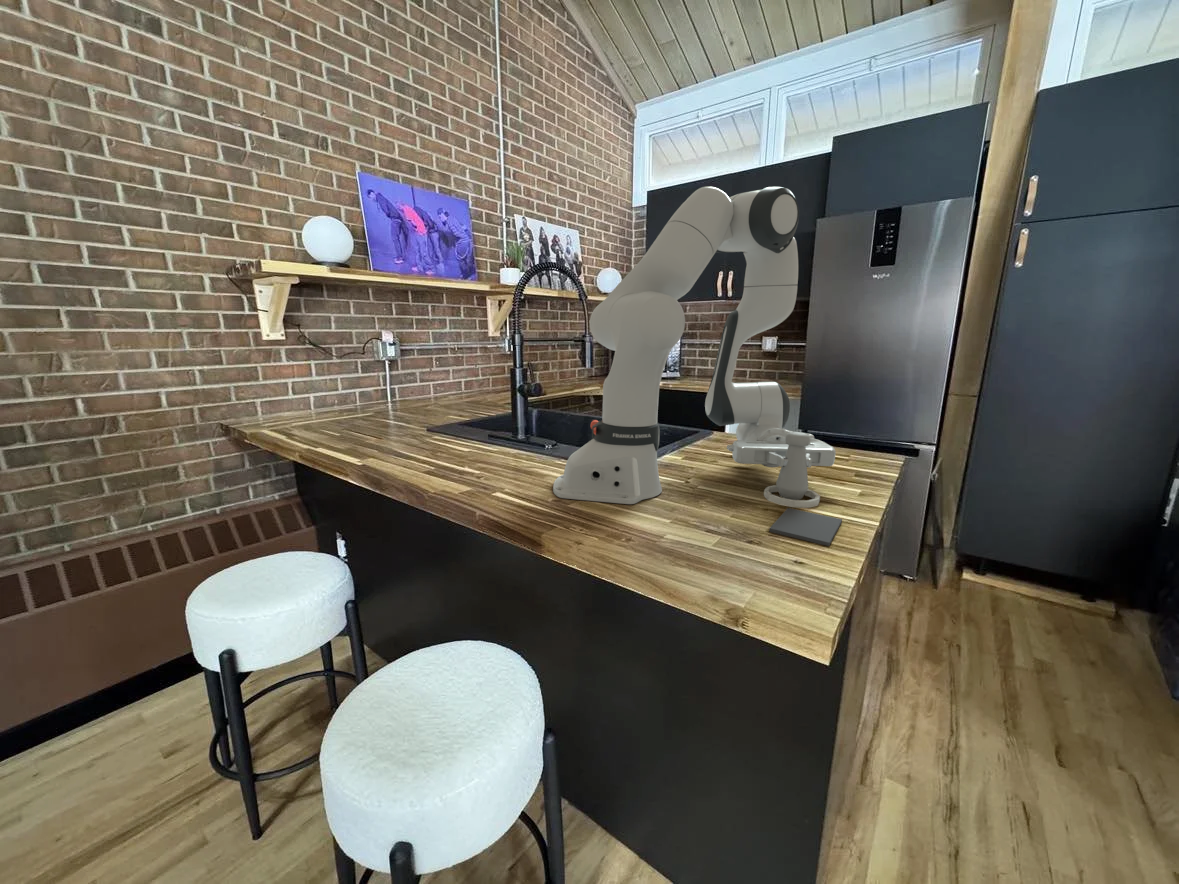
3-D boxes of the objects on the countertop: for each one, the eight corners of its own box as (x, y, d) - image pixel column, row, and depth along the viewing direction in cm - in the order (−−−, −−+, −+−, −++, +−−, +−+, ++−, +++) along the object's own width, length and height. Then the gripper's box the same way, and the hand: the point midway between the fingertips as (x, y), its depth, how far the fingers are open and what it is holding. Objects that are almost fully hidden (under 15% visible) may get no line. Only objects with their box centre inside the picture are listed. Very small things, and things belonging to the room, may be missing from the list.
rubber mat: (829, 546, 73) (829, 542, 73) (769, 531, 78) (769, 528, 78) (841, 522, 82) (842, 519, 82) (787, 510, 87) (788, 507, 87)
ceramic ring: (774, 506, 89) (775, 500, 89) (757, 489, 99) (758, 484, 99) (828, 508, 89) (829, 502, 89) (805, 491, 99) (806, 485, 98)
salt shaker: (809, 503, 90) (818, 436, 88) (777, 500, 92) (785, 434, 89) (802, 493, 96) (810, 431, 93) (773, 491, 97) (780, 429, 94)
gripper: (725, 431, 104) (744, 445, 91) (818, 434, 104) (851, 448, 90) (723, 458, 106) (741, 477, 92) (815, 461, 105) (846, 480, 92)
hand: (796, 463), depth 91 cm, fingers closed on salt shaker, 3 cm apart
